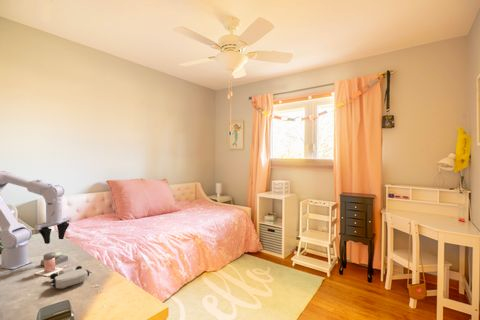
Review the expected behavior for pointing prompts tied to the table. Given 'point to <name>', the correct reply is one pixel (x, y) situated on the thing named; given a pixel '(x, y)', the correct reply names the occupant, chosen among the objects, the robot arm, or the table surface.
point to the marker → (49, 262)
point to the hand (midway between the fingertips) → (54, 241)
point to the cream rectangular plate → (49, 272)
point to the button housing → (58, 260)
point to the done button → (57, 254)
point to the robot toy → (69, 277)
